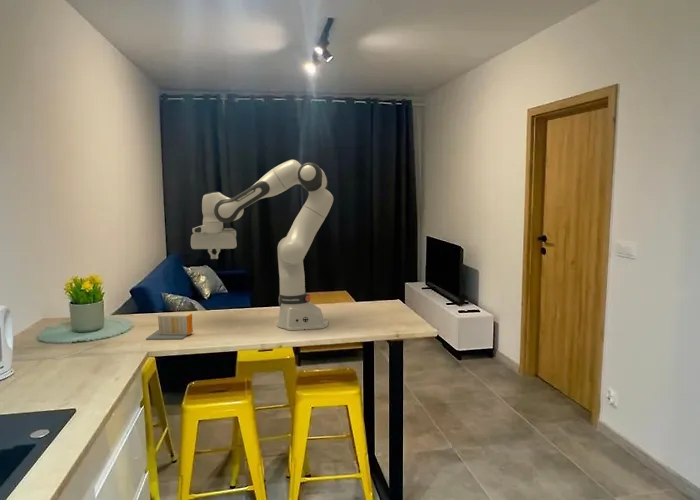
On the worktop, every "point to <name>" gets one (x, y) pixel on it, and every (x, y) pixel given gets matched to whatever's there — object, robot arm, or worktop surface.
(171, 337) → the rubber mat
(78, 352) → the butter knife
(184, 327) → the supplement box
